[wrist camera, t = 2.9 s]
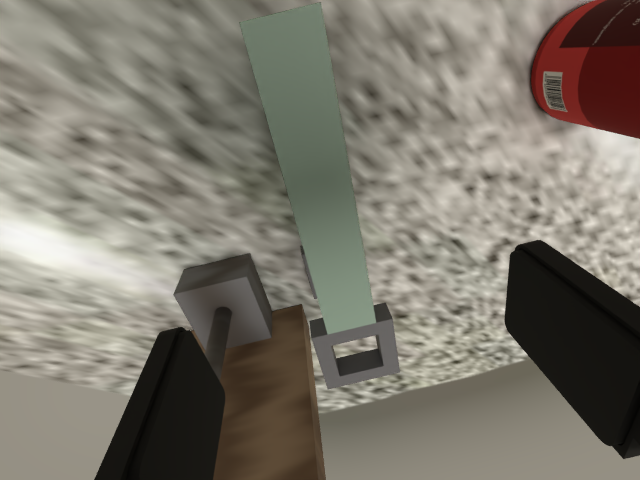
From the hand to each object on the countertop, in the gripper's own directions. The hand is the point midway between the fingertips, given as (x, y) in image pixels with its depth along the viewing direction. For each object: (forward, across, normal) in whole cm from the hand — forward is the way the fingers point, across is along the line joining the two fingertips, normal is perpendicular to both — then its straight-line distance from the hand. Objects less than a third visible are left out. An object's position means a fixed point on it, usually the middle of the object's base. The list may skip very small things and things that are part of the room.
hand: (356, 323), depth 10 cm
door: (+18, 0, +2) cm, 18 cm away
